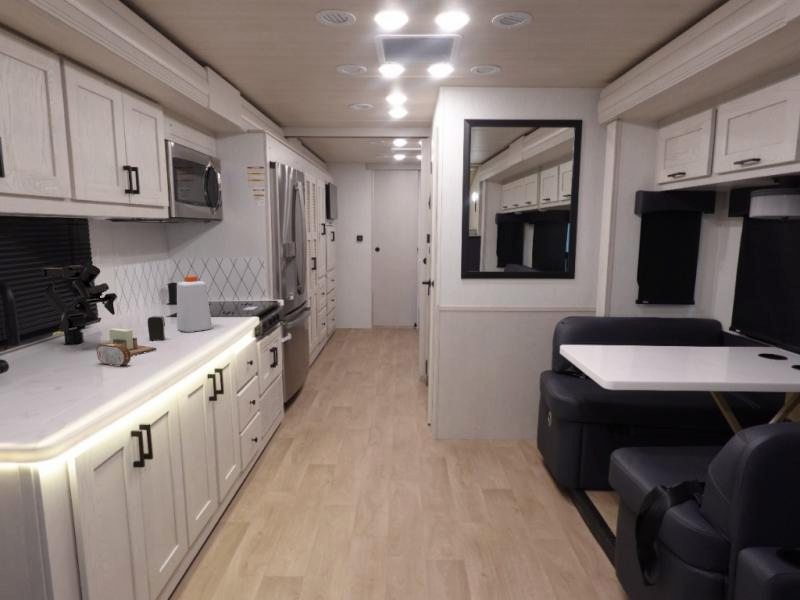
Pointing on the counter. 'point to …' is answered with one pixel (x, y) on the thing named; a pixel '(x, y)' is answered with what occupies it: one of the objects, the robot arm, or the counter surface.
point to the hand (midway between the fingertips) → (104, 316)
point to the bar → (122, 336)
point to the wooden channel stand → (137, 348)
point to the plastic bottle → (192, 306)
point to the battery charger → (156, 328)
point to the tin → (113, 354)
